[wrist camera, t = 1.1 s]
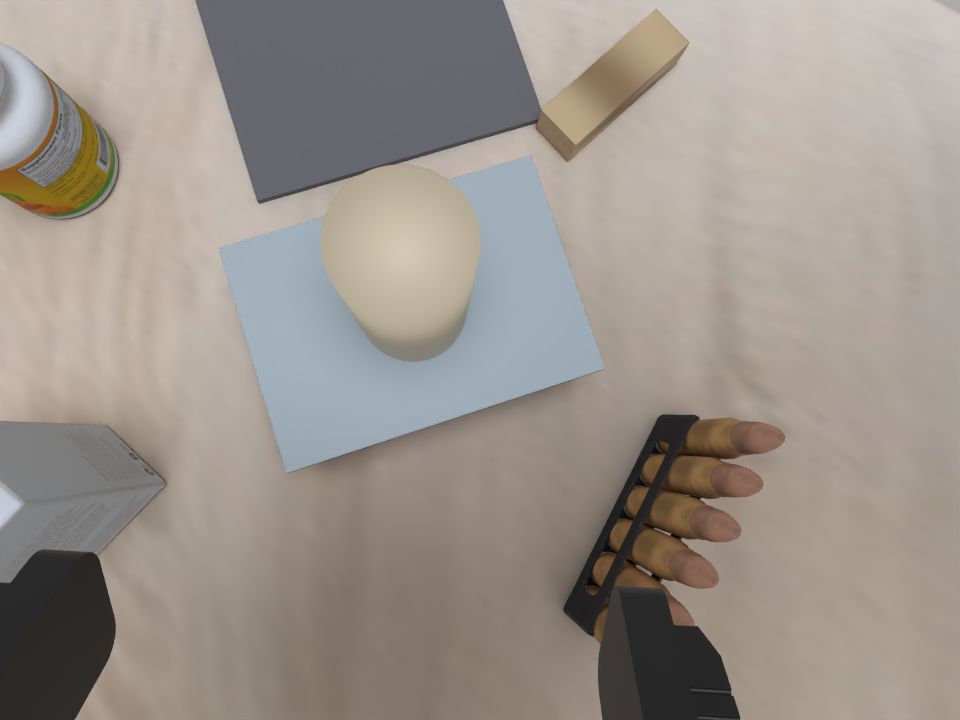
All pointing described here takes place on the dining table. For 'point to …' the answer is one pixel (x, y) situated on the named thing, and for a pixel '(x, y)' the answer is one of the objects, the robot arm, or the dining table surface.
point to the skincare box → (66, 489)
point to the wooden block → (611, 85)
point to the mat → (362, 82)
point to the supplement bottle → (49, 144)
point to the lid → (408, 307)
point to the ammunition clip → (670, 513)
